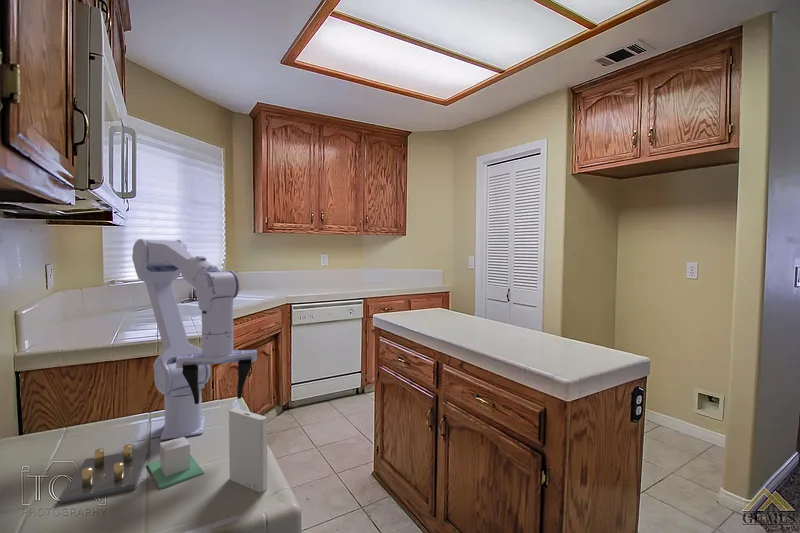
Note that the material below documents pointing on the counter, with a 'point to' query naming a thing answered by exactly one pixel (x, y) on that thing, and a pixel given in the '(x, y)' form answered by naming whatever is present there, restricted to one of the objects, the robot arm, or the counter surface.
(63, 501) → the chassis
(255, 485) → the external hard drive
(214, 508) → the counter surface
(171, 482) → the board
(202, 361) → the robot arm
